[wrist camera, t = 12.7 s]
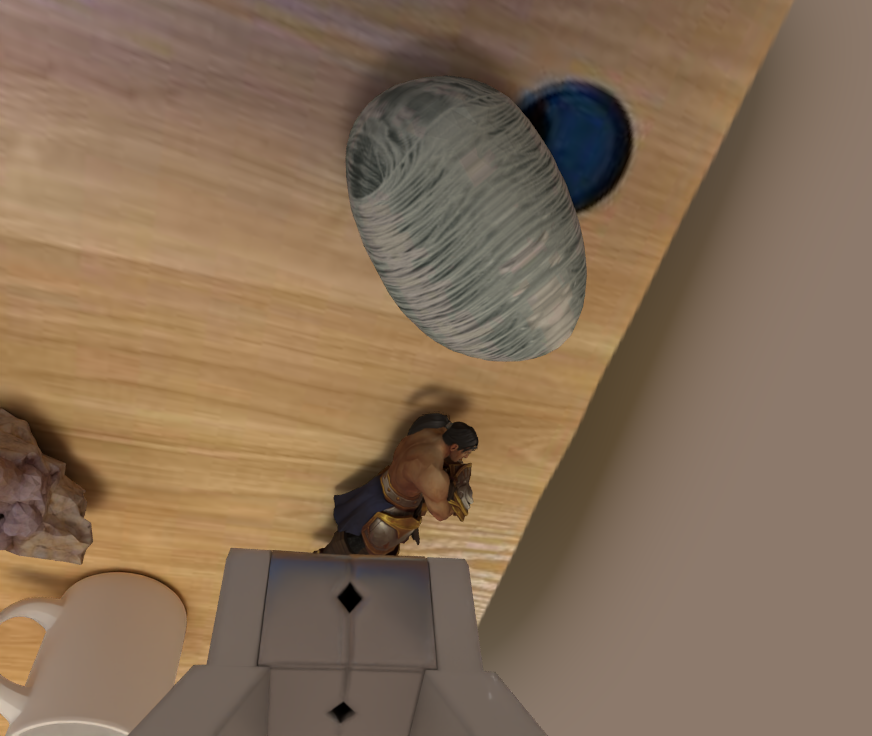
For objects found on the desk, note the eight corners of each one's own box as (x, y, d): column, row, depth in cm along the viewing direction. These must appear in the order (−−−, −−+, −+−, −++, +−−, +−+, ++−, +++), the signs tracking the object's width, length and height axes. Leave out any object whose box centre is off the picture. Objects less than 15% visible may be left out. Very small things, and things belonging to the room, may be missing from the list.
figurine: (270, 525, 49) (422, 404, 40) (328, 495, 53) (475, 382, 45) (327, 622, 47) (496, 518, 39) (382, 583, 52) (543, 483, 44)
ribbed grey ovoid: (261, 132, 32) (391, 224, 25) (434, 3, 34) (597, 59, 27) (386, 335, 42) (501, 437, 36) (514, 228, 44) (646, 308, 37)
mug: (45, 527, 49) (-24, 682, 40) (213, 599, 54) (183, 750, 45) (-12, 599, 52) (-88, 756, 43) (150, 660, 57) (112, 811, 48)
